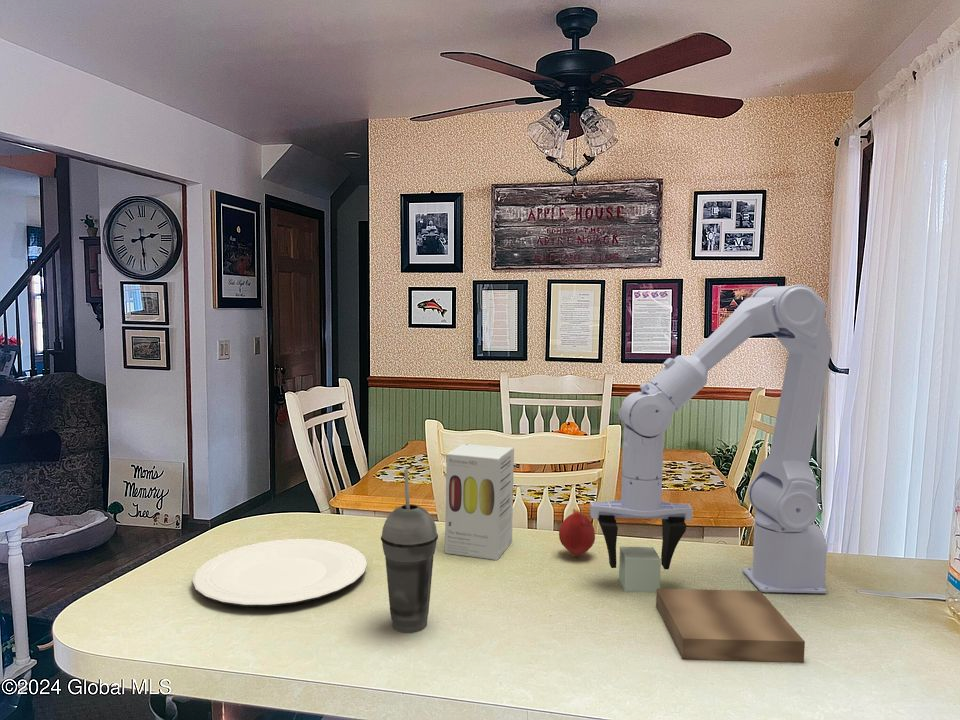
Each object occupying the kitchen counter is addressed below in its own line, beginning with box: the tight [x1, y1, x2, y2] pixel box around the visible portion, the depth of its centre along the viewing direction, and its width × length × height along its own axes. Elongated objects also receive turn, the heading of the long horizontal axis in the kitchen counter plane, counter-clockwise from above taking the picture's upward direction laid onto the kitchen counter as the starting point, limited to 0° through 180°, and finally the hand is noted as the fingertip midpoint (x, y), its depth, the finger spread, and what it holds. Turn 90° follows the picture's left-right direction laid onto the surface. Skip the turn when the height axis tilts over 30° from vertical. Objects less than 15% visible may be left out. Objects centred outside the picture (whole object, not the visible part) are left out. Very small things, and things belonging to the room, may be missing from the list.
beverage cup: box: [380, 469, 439, 634], centre depth 88 cm, size 7×7×20 cm
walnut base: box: [655, 588, 806, 663], centre depth 87 cm, size 14×14×2 cm
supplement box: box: [444, 442, 515, 561], centre depth 116 cm, size 10×9×17 cm
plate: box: [191, 538, 368, 607], centre depth 103 cm, size 25×25×2 cm
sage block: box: [618, 545, 662, 594], centre depth 101 cm, size 5×5×5 cm
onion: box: [558, 507, 596, 558], centre depth 113 cm, size 6×6×8 cm
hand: (638, 566), depth 101 cm, fingers open, 7 cm apart
